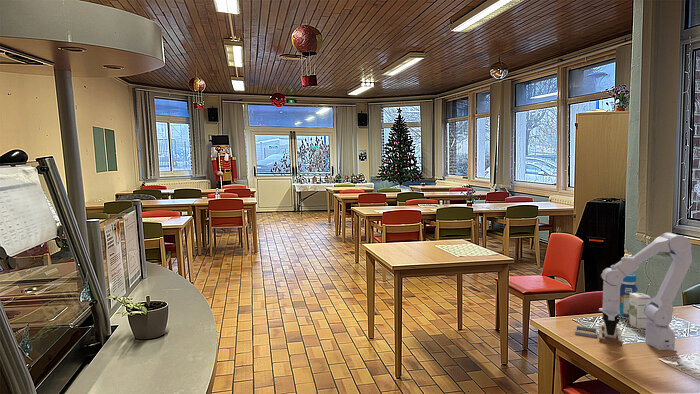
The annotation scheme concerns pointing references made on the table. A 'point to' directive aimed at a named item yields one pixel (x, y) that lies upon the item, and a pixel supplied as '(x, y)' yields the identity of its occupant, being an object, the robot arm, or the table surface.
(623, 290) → the beverage bottle
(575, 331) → the tote
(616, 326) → the loose billet
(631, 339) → the table surface
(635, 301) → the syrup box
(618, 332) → the pallet
